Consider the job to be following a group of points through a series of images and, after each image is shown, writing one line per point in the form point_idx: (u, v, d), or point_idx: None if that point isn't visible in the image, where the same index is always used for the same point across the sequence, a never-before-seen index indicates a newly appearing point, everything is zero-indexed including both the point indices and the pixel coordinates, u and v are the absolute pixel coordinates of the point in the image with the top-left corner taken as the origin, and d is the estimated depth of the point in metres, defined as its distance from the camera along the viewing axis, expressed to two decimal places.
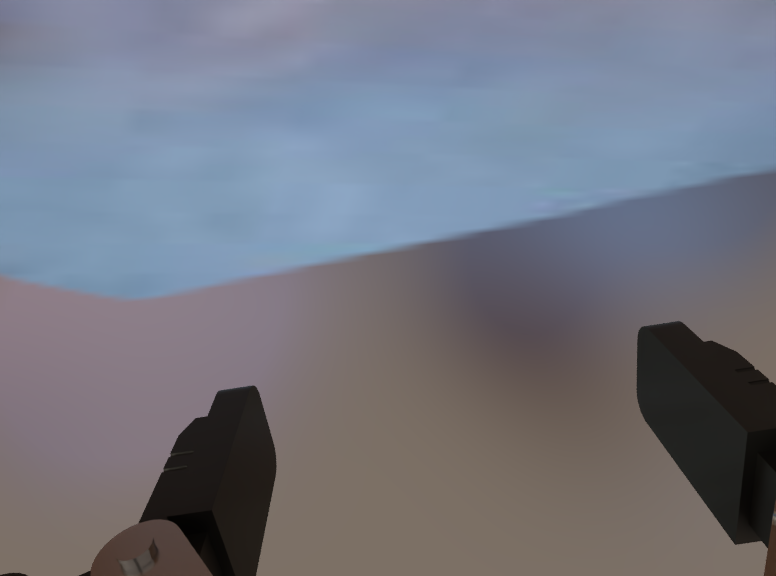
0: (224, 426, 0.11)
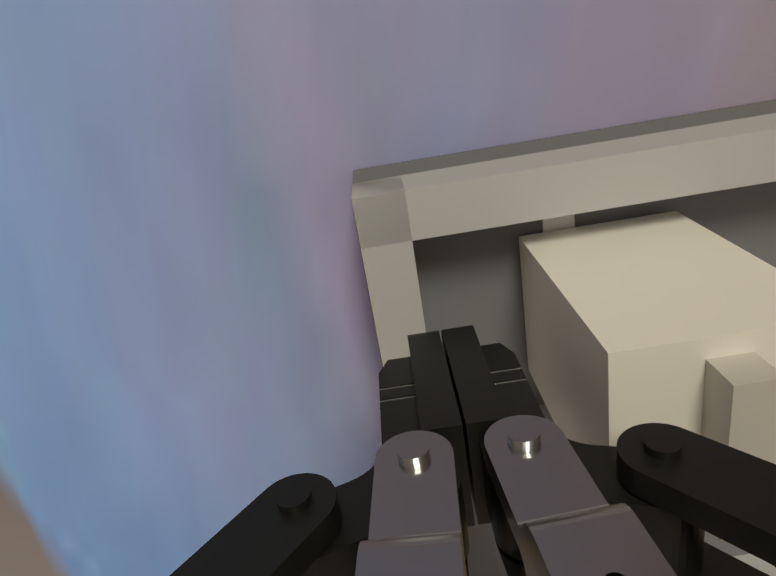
0: (432, 361, 0.12)
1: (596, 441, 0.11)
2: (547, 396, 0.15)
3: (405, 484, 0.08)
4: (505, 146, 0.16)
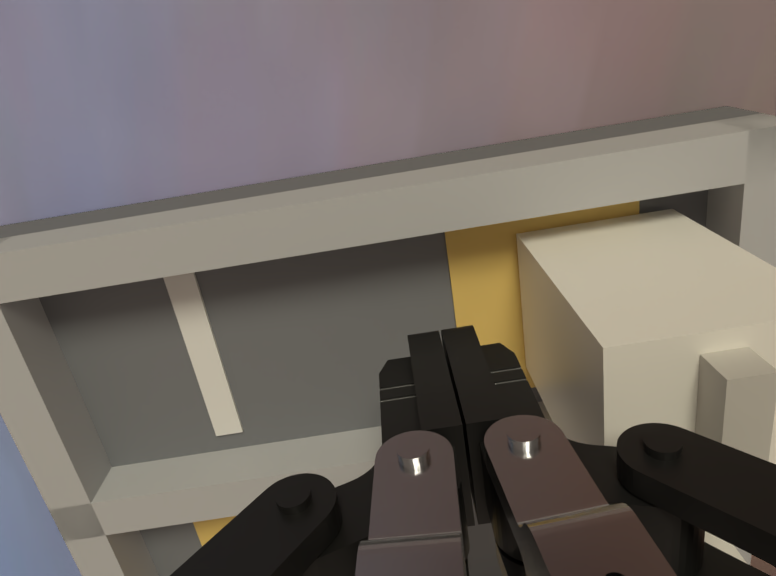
0: (432, 361, 0.12)
1: (592, 436, 0.11)
2: (544, 392, 0.15)
3: (405, 484, 0.08)
4: (142, 204, 0.16)
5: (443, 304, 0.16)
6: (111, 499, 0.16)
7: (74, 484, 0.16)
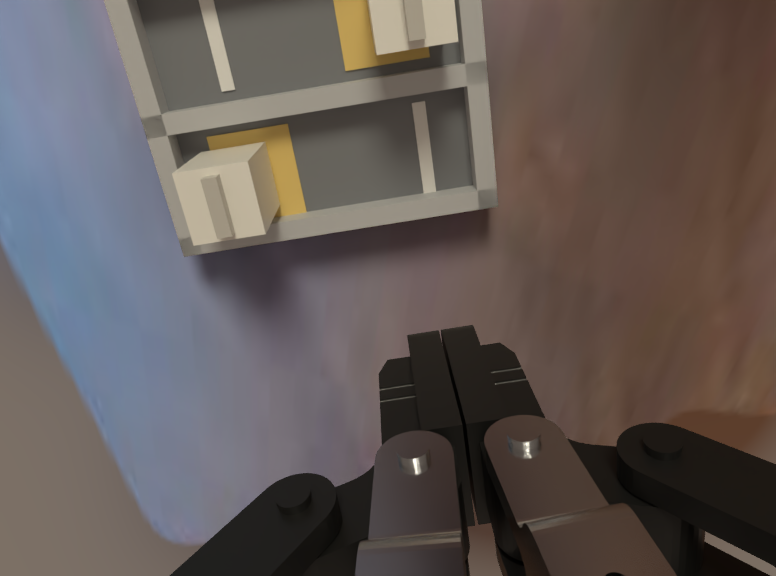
0: (432, 361, 0.12)
1: None
2: None
3: (405, 484, 0.08)
4: None
5: (331, 15, 0.34)
6: (171, 112, 0.34)
7: (153, 102, 0.34)
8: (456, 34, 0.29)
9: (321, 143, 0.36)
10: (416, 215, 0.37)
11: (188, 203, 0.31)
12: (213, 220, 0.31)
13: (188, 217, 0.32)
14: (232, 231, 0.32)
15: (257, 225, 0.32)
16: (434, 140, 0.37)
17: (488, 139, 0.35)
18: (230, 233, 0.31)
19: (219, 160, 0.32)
